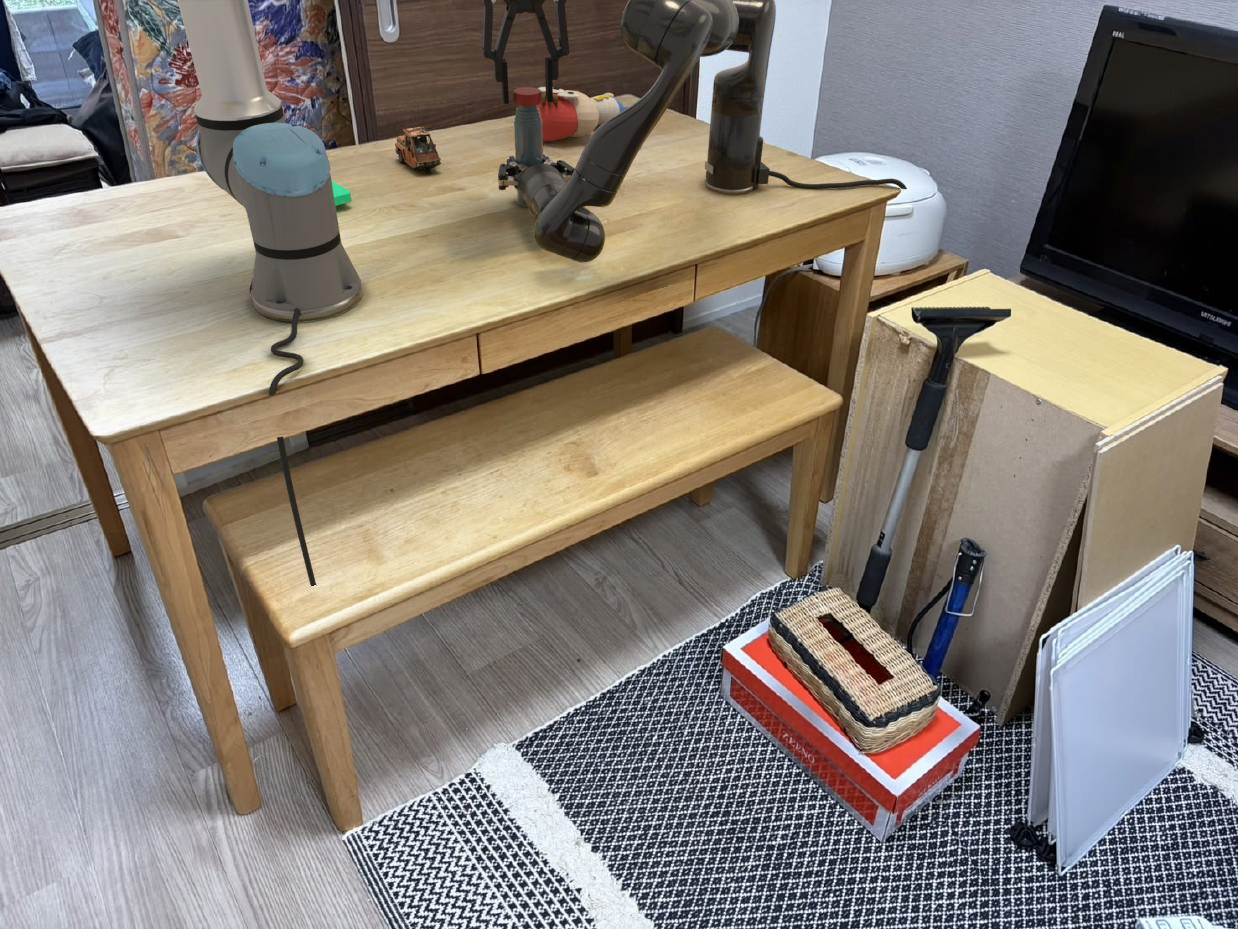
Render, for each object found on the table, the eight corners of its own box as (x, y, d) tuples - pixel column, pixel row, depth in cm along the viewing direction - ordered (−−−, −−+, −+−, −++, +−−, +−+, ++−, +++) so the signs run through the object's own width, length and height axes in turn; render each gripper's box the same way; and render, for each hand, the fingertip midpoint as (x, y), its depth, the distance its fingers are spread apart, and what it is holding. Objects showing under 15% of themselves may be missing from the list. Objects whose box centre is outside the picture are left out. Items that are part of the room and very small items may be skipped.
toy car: (418, 153, 186) (414, 118, 181) (449, 170, 178) (446, 134, 174) (389, 159, 182) (385, 123, 178) (419, 177, 175) (416, 140, 171)
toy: (674, 93, 197) (551, 94, 182) (670, 142, 202) (549, 147, 187) (627, 81, 210) (509, 80, 195) (624, 127, 215) (508, 131, 200)
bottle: (548, 205, 166) (545, 96, 155) (522, 208, 164) (518, 99, 153) (538, 196, 169) (535, 88, 158) (513, 199, 168) (508, 91, 156)
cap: (531, 96, 159) (531, 85, 158) (547, 103, 156) (546, 92, 155) (508, 101, 157) (507, 89, 156) (523, 108, 154) (522, 96, 153)
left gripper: (580, -58, 147) (580, 92, 161) (455, -58, 143) (466, 96, 157) (589, -51, 141) (589, 104, 155) (460, -50, 138) (471, 109, 151)
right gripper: (589, 169, 151) (565, 136, 164) (502, 175, 148) (485, 141, 161) (588, 213, 156) (565, 178, 169) (504, 220, 152) (487, 183, 165)
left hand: (527, 100), depth 156 cm, fingers open, 7 cm apart
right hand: (526, 160), depth 165 cm, fingers closed on bottle, 5 cm apart
